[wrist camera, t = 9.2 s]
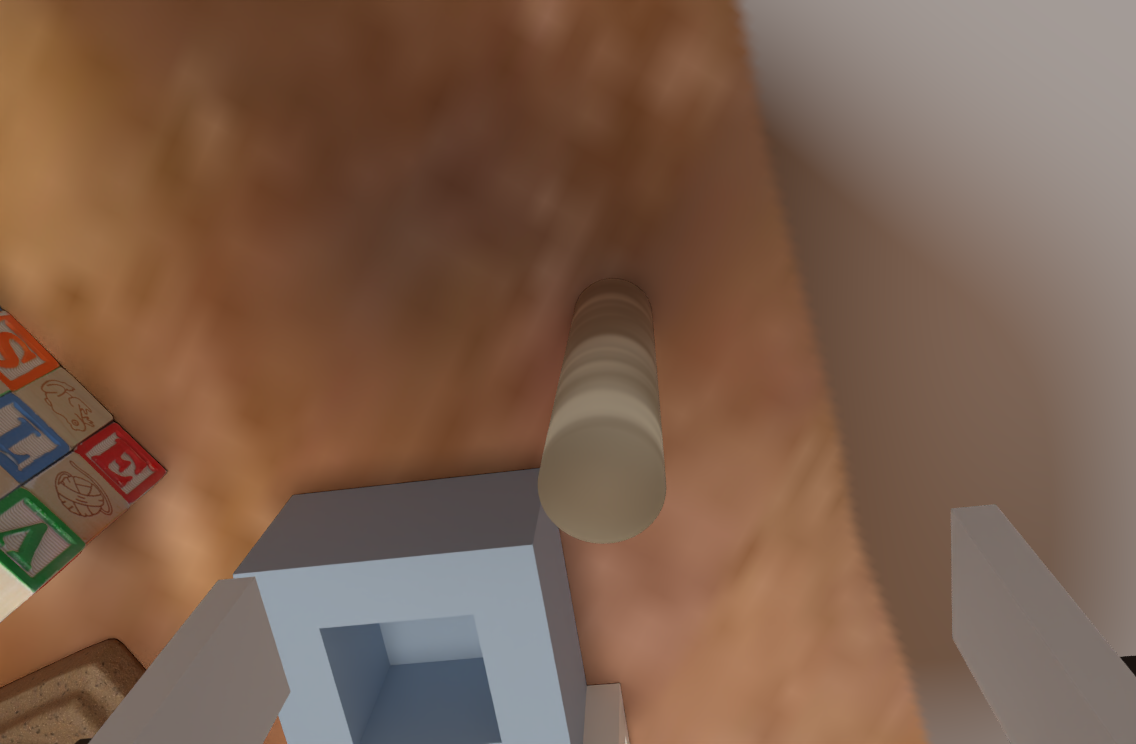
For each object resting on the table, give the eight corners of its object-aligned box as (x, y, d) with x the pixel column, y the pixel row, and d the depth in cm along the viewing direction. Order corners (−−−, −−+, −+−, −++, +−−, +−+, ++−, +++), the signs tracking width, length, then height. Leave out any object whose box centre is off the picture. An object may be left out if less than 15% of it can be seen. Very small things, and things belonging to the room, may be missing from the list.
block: (292, 495, 37) (232, 574, 32) (547, 467, 36) (532, 544, 30) (352, 704, 41) (308, 808, 35) (586, 685, 40) (579, 790, 34)
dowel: (568, 284, 33) (527, 436, 20) (647, 273, 33) (658, 421, 20) (580, 358, 34) (548, 549, 21) (656, 348, 34) (673, 537, 21)
